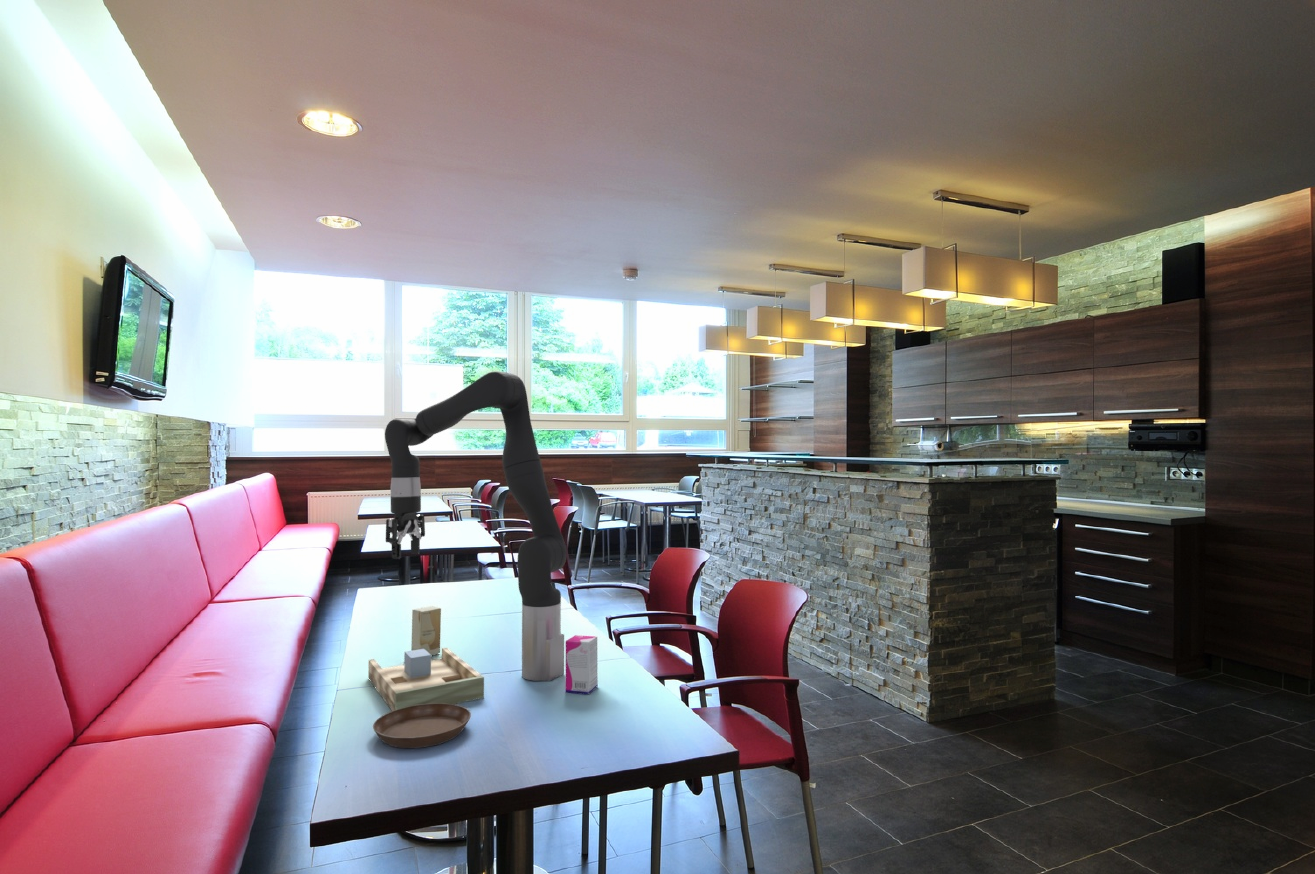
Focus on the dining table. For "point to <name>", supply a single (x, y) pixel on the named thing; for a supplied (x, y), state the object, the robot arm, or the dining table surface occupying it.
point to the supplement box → (581, 664)
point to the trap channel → (428, 683)
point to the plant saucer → (421, 725)
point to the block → (417, 663)
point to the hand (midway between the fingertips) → (406, 556)
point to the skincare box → (426, 629)
